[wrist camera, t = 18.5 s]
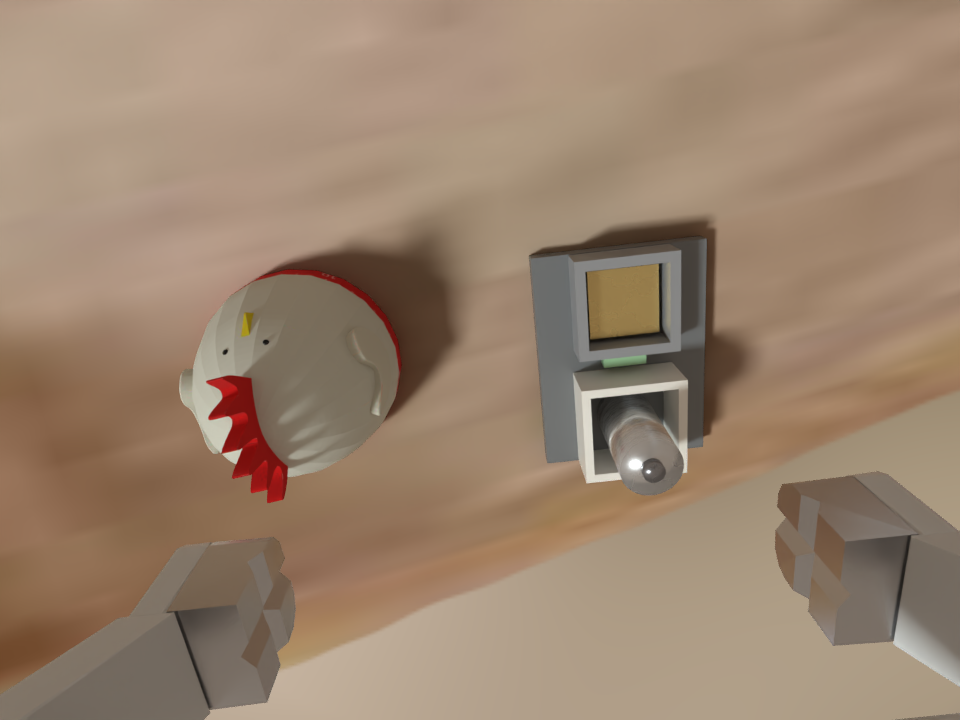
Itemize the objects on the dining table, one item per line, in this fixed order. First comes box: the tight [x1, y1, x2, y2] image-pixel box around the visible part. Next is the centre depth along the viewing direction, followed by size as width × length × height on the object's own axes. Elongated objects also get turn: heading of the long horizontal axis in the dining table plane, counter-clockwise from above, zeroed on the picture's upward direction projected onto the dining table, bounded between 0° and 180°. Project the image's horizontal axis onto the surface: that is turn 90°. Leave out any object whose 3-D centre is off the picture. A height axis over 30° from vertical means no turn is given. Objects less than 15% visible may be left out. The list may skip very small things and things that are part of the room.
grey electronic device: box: [529, 236, 707, 483], centre depth 43 cm, size 12×16×5 cm
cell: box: [597, 393, 684, 495], centre depth 41 cm, size 4×4×9 cm
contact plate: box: [586, 264, 659, 340], centre depth 42 cm, size 5×5×1 cm
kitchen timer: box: [179, 269, 402, 503], centre depth 38 cm, size 14×14×15 cm
